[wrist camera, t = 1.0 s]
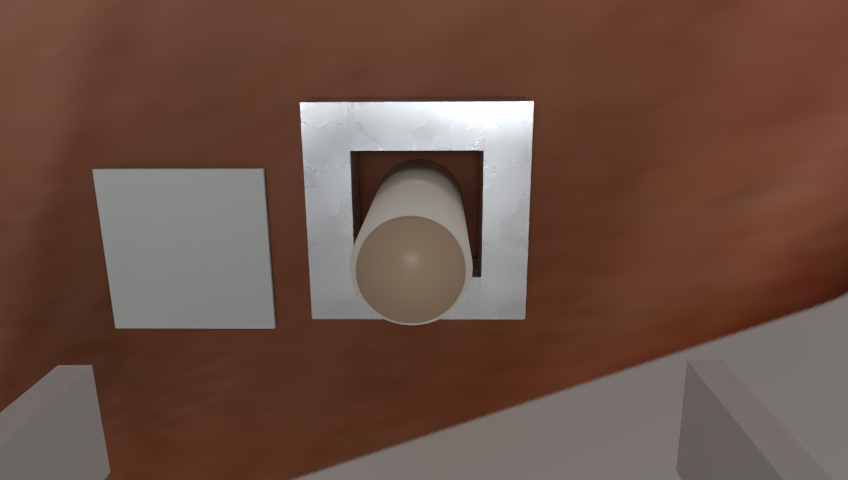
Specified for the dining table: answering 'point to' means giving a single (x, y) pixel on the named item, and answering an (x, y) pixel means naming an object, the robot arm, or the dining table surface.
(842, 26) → the dining table surface
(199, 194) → the pad
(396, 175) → the off-white cylinder
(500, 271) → the housing
